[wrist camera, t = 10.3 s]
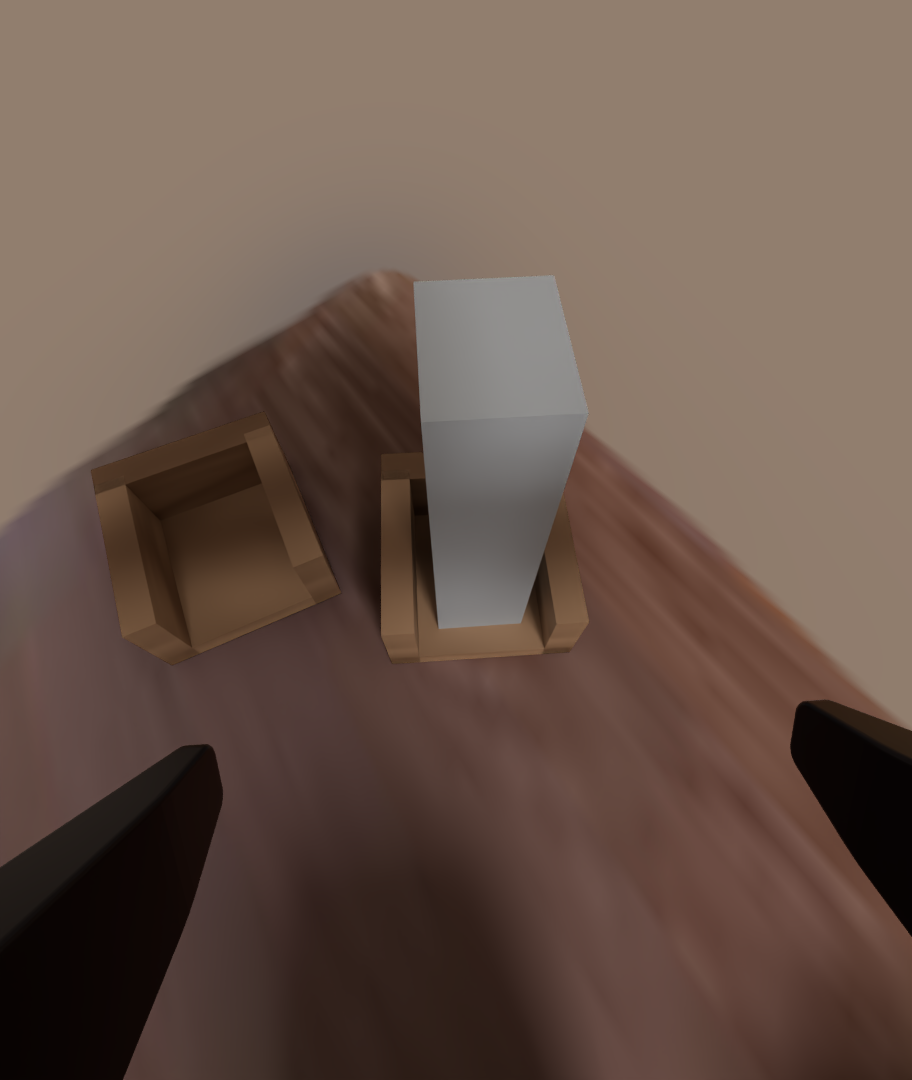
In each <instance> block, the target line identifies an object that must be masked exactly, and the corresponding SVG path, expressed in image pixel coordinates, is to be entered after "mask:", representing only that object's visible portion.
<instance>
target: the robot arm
mask: <svg viewBox="0 0 912 1080" xmlns="http://www.w3.org/2000/svg"><path fill="white" fill-rule="evenodd" d="M790 749H791V755H792V758H793V761H794V763H795V765H796V766H797V768H798V770H799V771H800V773H801V774H802V776H803V778H804V779H805V781H806V782H807V784H808V786H809V787H810V789H811V791H812V792H813V794H814V795H815V797H816V799H817V800H818V802H819V803H820V805H821V807H822V808H823V810H824V812H825V813H826V815H827V816H828V818H829V820H830V821H831V823H832V824H833V826H834V828H835V829H836V831H837V833H838V834H839V836H840V837H841V839H842V841H843V842H844V844H845V845H846V847H847V848H848V850H849V851H850V853H851V854H852V856H853V857H854V859H855V860H856V862H857V863H858V865H859V866H860V867H861V869H862V870H863V872H864V873H865V874H866V876H867V877H868V879H869V880H870V881H871V883H872V884H873V885H874V887H875V888H876V889H877V891H878V892H879V893H880V895H881V896H882V898H883V899H884V900H885V902H886V903H887V904H888V906H889V907H890V908H891V910H892V911H893V912H894V914H895V915H896V916H897V918H898V919H899V920H900V922H901V923H902V924H903V926H904V927H905V928H906V930H907V931H908V933H909V934H910V935H911V937H912V731H910V730H908V729H905V728H902V727H900V726H897V725H895V724H892V723H889V722H887V721H884V720H881V719H879V718H876V717H873V716H871V715H868V714H865V713H863V712H860V711H857V710H855V709H852V708H849V707H847V706H844V705H841V704H839V703H836V702H833V701H830V700H814V701H803V702H801V703H800V704H799V705H798V706H797V708H796V712H795V719H794V725H793V731H792V738H791V744H790ZM222 800H223V788H222V783H221V779H220V774H219V769H218V764H217V760H216V755H215V752H214V749H213V748H212V746H210V745H208V744H202V745H188V746H182V747H180V748H178V749H177V750H175V751H174V752H172V753H171V754H169V755H168V756H166V757H165V758H163V759H162V760H160V761H159V762H157V763H156V764H154V765H153V766H151V767H150V768H148V769H147V770H145V771H144V772H142V773H141V774H139V775H138V776H136V777H135V778H133V779H132V780H130V781H129V782H127V783H126V784H124V785H123V786H121V787H120V788H118V789H117V790H115V791H114V792H112V793H111V794H109V795H108V796H106V797H105V798H103V799H102V800H100V801H99V802H97V803H96V804H94V805H93V806H91V807H90V808H88V809H87V810H85V811H84V812H82V813H81V814H79V815H78V816H76V817H75V818H73V819H72V820H70V821H69V822H67V823H66V824H64V825H63V826H61V827H60V828H58V829H57V830H55V831H54V832H52V833H51V834H49V835H48V836H46V837H45V838H43V839H42V840H40V841H39V842H37V843H36V844H34V845H33V846H31V847H30V848H28V849H27V850H25V851H24V852H22V853H21V854H19V855H18V856H16V857H15V858H13V859H12V860H10V861H9V862H7V863H6V864H4V865H3V866H1V867H0V1080H123V1078H124V1076H125V1073H126V1071H127V1068H128V1066H129V1063H130V1061H131V1058H132V1056H133V1053H134V1051H135V1048H136V1046H137V1043H138V1041H139V1038H140V1036H141V1033H142V1031H143V1028H144V1026H145V1023H146V1021H147V1018H148V1016H149V1014H150V1011H151V1009H152V1006H153V1004H154V1001H155V999H156V996H157V994H158V991H159V989H160V986H161V984H162V981H163V979H164V976H165V974H166V971H167V969H168V966H169V964H170V961H171V959H172V956H173V954H174V952H175V949H176V947H177V944H178V942H179V939H180V937H181V934H182V932H183V929H184V926H185V924H186V921H187V918H188V916H189V913H190V910H191V907H192V904H193V901H194V897H195V894H196V891H197V888H198V884H199V881H200V877H201V874H202V871H203V867H204V864H205V860H206V857H207V854H208V850H209V847H210V843H211V840H212V837H213V833H214V830H215V826H216V823H217V820H218V816H219V813H220V810H221V806H222Z"/></svg>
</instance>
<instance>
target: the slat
mask: <svg viewBox="0 0 912 1080" xmlns="http://www.w3.org/2000/svg"><path fill="white" fill-rule="evenodd" d="M414 300H415V319H416V338H417V357H418V376H419V395H420V414H421V429H422V440H423V452H424V464H425V475H426V487H427V499H428V510H429V522H430V534H431V545H432V557H433V569H434V580H435V592H436V604H437V615H438V627H439V629H445V628H460V627H474V626H489V625H503V624H518V623H521V621H522V618H523V615H524V612H525V609H526V606H527V603H528V600H529V596H530V593H531V590H532V587H533V584H534V581H535V578H536V575H537V572H538V569H539V565H540V562H541V559H542V556H543V553H544V550H545V547H546V544H547V541H548V538H549V534H550V531H551V528H552V525H553V522H554V519H555V516H556V513H557V510H558V507H559V503H560V500H561V497H562V494H563V491H564V488H565V485H566V482H567V479H568V476H569V472H570V469H571V466H572V463H573V460H574V457H575V454H576V451H577V448H578V445H579V441H580V438H581V435H582V432H583V429H584V426H585V423H586V420H587V417H588V414H589V413H588V409H587V405H586V401H585V397H584V393H583V389H582V385H581V381H580V377H579V373H578V369H577V365H576V361H575V357H574V353H573V349H572V345H571V341H570V337H569V333H568V329H567V325H566V322H565V317H564V313H563V309H562V305H561V301H560V297H559V293H558V289H557V285H556V281H555V277H554V275H553V276H552V275H551V276H529V277H509V278H485V279H464V280H442V281H420V282H414Z"/></svg>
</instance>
